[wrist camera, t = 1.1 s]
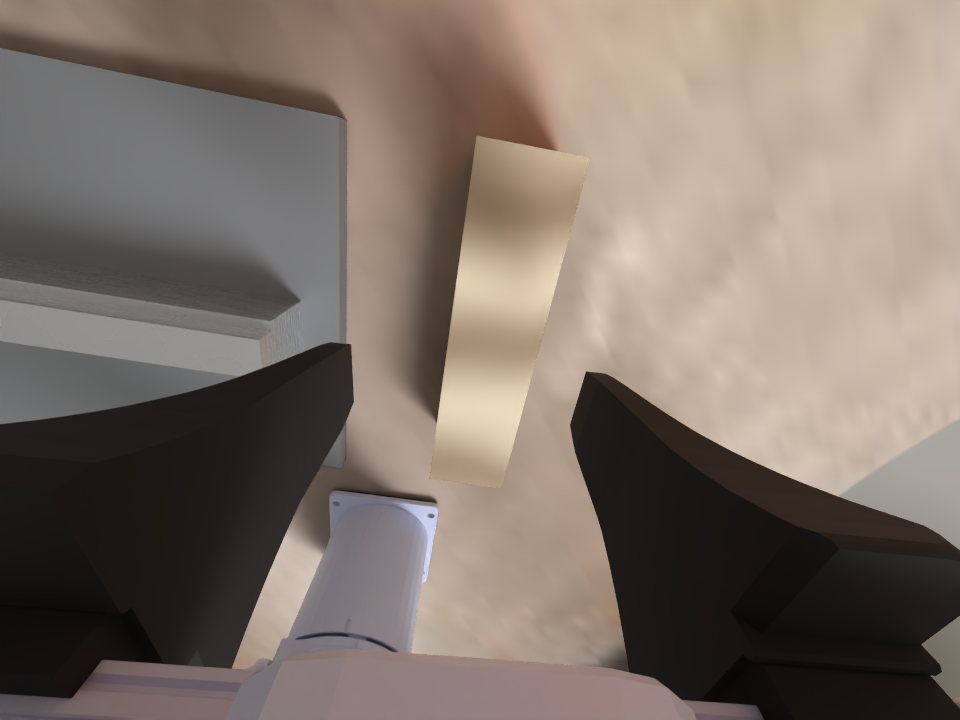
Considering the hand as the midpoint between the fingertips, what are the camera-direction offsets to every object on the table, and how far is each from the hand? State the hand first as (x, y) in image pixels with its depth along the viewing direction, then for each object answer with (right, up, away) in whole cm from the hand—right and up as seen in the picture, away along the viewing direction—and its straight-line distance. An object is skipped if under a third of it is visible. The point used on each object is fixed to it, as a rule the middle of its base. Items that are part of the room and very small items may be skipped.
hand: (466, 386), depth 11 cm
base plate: (-18, +4, +8) cm, 21 cm away
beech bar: (+1, +3, +9) cm, 10 cm away
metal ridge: (-18, +4, +8) cm, 20 cm away
